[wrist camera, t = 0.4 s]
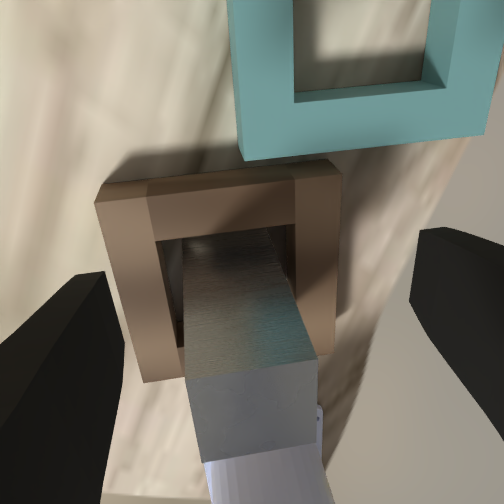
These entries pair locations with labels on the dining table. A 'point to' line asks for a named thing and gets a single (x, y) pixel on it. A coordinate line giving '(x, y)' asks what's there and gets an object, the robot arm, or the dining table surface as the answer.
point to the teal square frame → (362, 97)
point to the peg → (245, 348)
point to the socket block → (211, 222)
